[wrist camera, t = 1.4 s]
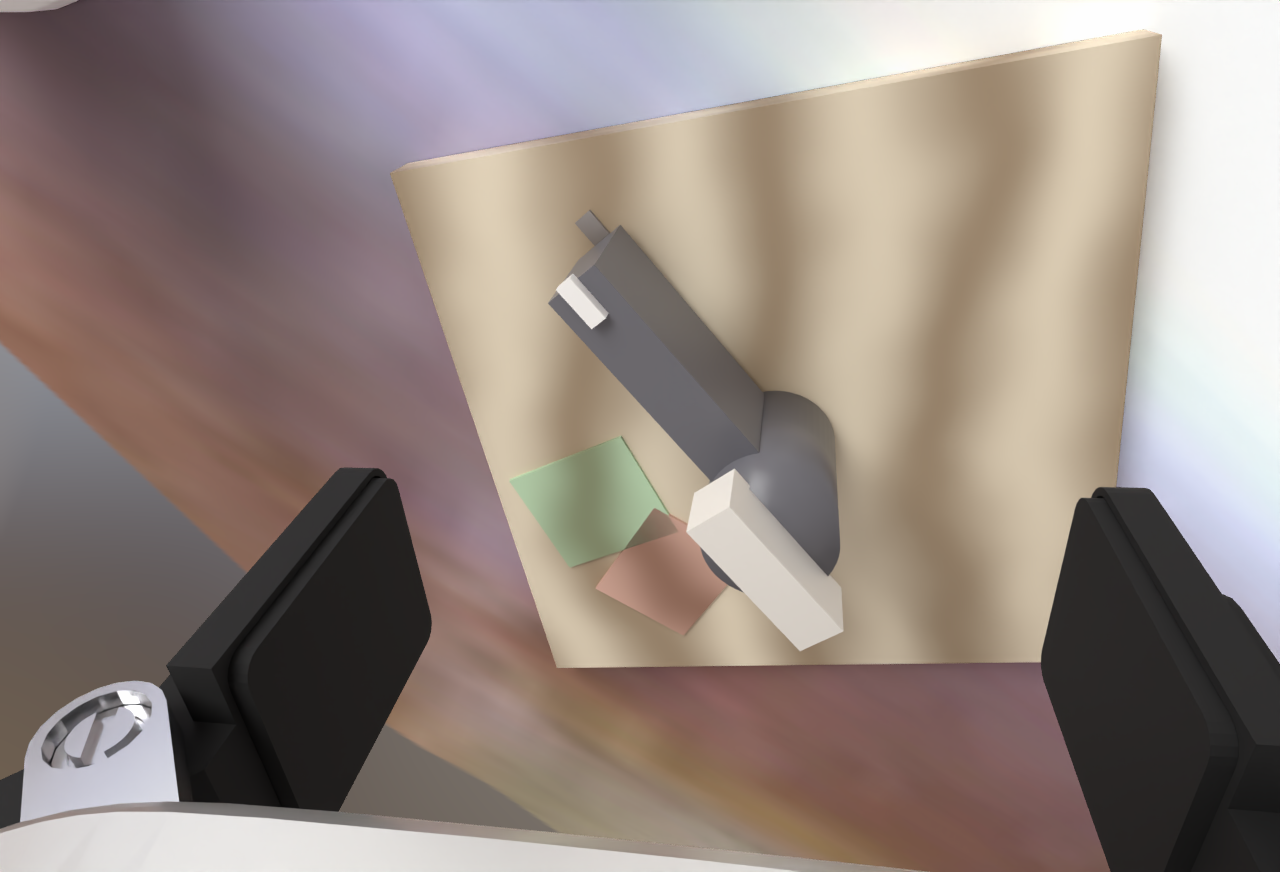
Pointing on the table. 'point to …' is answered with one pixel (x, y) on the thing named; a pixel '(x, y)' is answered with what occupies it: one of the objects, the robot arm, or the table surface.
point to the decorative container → (32, 5)
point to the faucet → (721, 438)
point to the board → (817, 344)
